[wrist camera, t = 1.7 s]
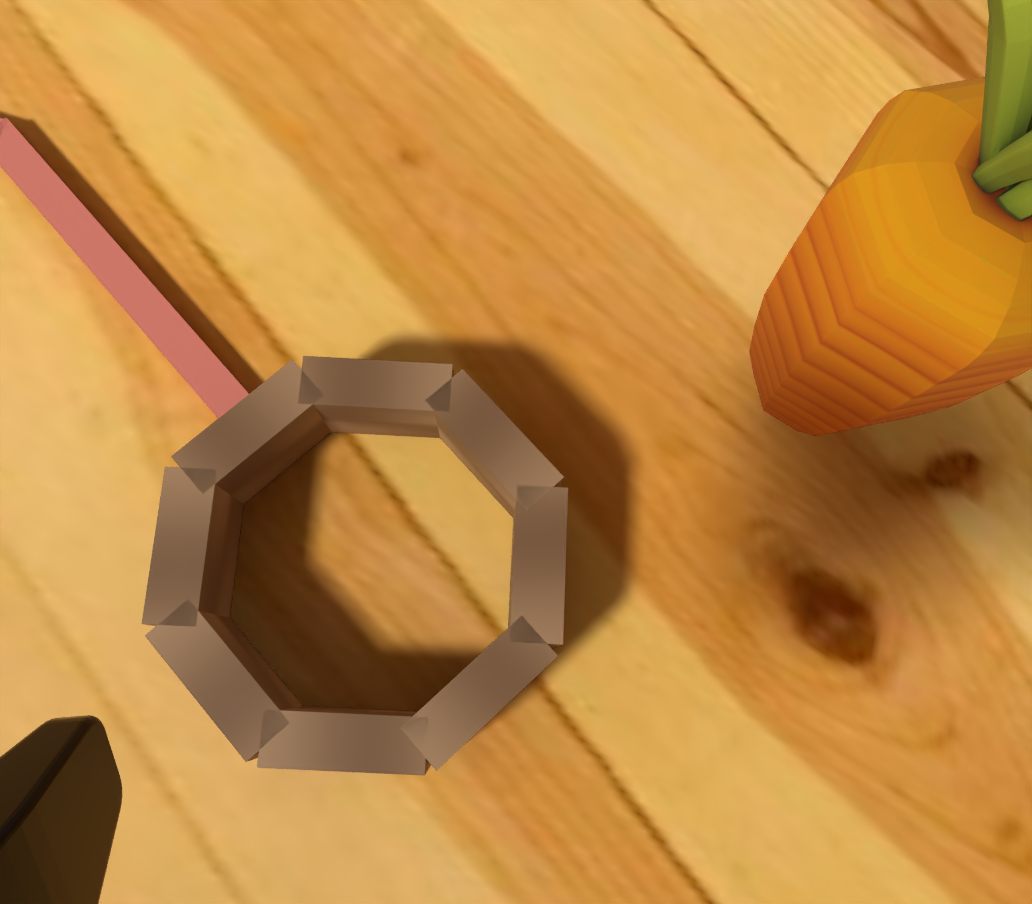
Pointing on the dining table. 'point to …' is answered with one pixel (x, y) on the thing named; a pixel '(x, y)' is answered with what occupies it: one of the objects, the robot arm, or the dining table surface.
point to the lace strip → (118, 273)
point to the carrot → (913, 256)
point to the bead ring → (215, 541)
